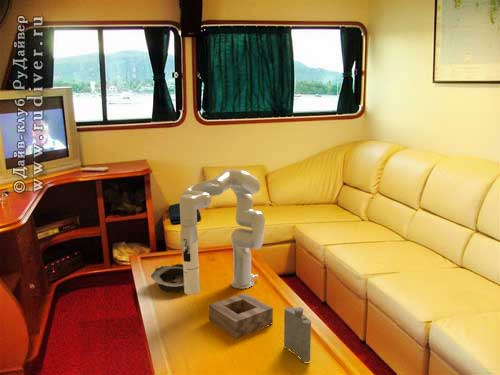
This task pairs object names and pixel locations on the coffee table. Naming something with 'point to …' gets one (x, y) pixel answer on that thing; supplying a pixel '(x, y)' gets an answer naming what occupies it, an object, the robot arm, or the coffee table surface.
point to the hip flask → (297, 332)
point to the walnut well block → (240, 315)
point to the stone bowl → (169, 278)
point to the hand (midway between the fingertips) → (190, 258)
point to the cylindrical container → (191, 271)
